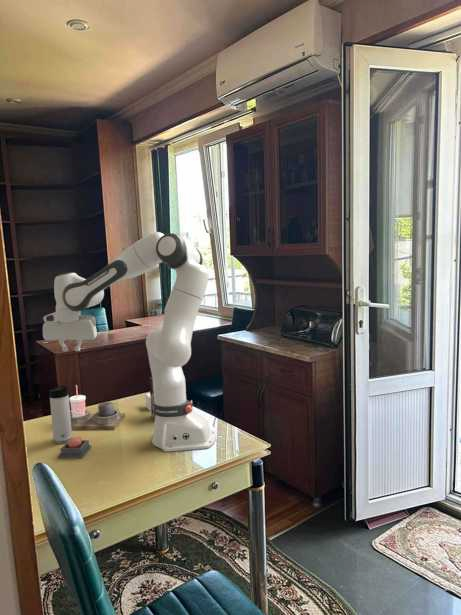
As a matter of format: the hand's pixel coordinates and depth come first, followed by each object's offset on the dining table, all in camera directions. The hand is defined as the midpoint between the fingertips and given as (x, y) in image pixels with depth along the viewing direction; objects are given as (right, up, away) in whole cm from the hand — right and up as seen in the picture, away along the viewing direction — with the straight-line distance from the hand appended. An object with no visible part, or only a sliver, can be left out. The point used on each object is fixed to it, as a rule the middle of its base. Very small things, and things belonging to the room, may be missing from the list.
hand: (71, 351), depth 179 cm
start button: (+9, -30, -23) cm, 39 cm away
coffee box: (+34, -27, +7) cm, 45 cm away
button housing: (+9, -32, -23) cm, 40 cm away
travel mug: (+1, -31, -12) cm, 33 cm away
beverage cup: (+2, -28, +4) cm, 28 cm away
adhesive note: (+29, -26, +19) cm, 43 cm away
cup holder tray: (+7, -29, +3) cm, 30 cm away
